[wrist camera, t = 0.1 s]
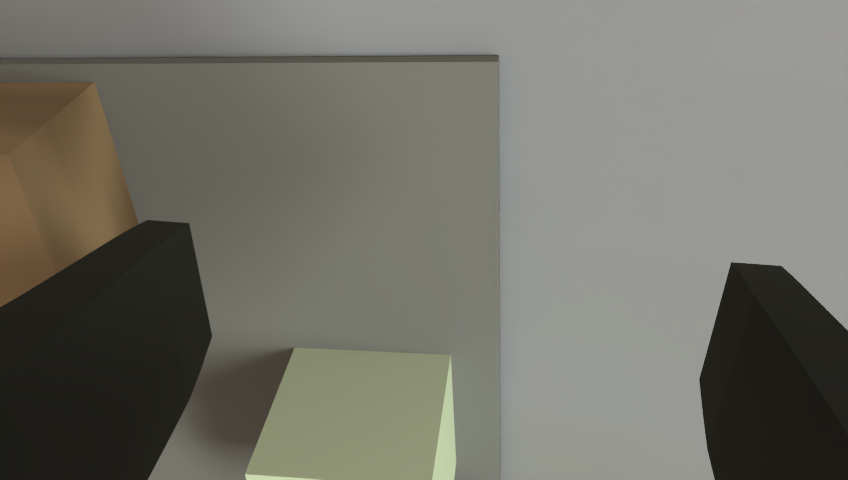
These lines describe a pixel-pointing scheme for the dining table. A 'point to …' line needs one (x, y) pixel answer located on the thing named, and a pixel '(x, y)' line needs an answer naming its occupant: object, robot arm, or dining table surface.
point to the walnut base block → (55, 181)
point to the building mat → (316, 222)
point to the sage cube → (359, 418)
